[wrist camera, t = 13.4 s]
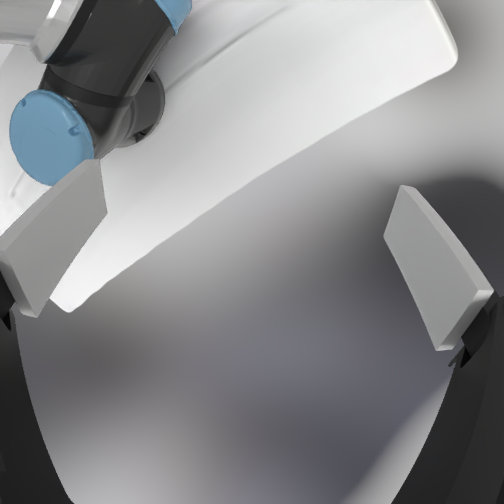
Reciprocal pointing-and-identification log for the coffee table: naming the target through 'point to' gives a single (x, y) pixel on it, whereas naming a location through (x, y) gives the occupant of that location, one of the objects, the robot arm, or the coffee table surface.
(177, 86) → the coffee table surface
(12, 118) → the robot arm
